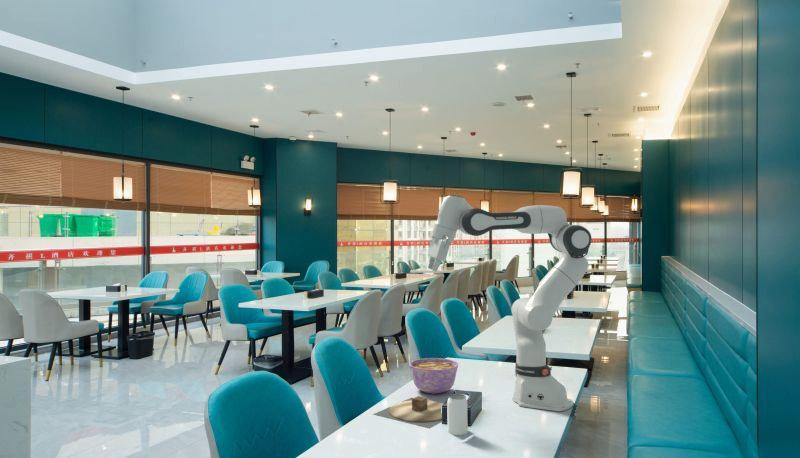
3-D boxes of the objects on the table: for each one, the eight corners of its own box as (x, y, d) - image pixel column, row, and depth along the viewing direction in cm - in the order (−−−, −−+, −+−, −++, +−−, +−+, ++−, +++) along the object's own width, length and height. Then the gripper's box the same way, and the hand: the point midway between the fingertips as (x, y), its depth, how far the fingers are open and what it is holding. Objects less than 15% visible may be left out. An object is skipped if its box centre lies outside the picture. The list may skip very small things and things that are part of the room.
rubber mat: (465, 410, 200) (465, 408, 200) (429, 430, 180) (429, 428, 180) (411, 399, 214) (411, 397, 214) (372, 415, 195) (372, 414, 195)
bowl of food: (399, 394, 221) (399, 365, 221) (426, 382, 237) (426, 355, 237) (442, 402, 209) (442, 372, 209) (467, 389, 226) (467, 361, 226)
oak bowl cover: (461, 409, 200) (461, 396, 200) (428, 426, 182) (428, 412, 182) (412, 398, 213) (412, 386, 213) (376, 414, 195) (376, 400, 195)
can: (466, 437, 174) (466, 399, 174) (446, 436, 175) (446, 398, 175) (468, 430, 180) (468, 393, 180) (448, 429, 181) (448, 392, 181)
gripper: (456, 238, 199) (445, 275, 198) (445, 237, 219) (435, 270, 219) (440, 233, 198) (428, 269, 198) (431, 232, 218) (420, 265, 218)
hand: (432, 270), depth 208 cm, fingers open, 8 cm apart
